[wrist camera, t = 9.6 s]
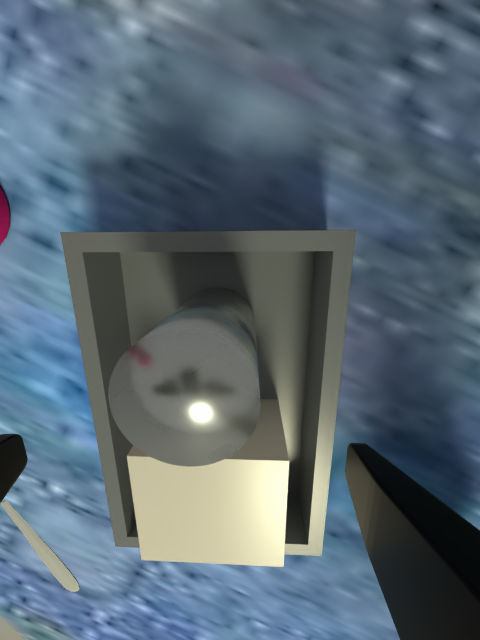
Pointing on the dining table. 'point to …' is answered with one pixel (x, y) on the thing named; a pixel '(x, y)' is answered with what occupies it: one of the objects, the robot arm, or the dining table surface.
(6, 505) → the butter knife
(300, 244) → the tote
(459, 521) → the robot arm
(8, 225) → the pepper mill
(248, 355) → the tin
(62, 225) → the dining table surface
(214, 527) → the cream hollow cover
